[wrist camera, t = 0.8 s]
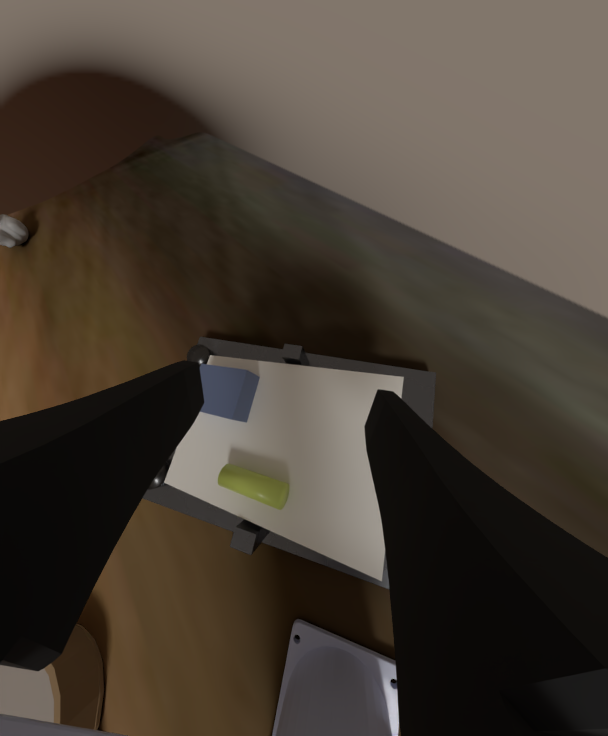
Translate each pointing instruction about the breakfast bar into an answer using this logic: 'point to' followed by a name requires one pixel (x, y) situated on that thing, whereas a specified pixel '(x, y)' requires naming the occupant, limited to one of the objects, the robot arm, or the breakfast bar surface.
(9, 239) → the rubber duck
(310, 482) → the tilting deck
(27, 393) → the breakfast bar surface
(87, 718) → the alarm clock
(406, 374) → the base
